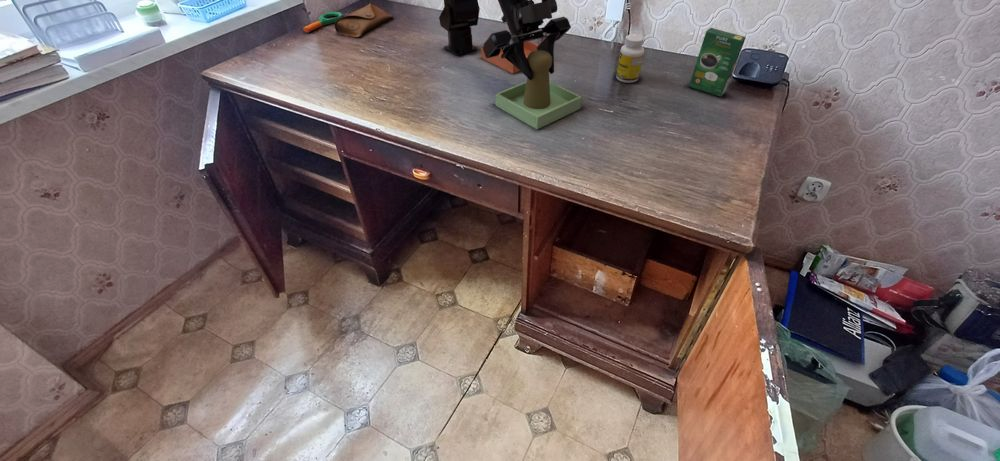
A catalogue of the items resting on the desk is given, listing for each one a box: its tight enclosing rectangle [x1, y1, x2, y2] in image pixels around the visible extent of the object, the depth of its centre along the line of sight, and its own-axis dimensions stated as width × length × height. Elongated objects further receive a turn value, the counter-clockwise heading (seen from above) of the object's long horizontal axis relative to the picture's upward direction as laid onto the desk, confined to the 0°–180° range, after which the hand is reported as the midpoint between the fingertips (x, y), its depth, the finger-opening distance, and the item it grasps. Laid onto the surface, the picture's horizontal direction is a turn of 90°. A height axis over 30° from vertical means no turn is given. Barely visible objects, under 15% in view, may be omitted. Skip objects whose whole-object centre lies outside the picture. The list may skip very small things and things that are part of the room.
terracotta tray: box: [480, 41, 539, 74], centre depth 120 cm, size 12×12×3 cm
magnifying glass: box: [302, 11, 343, 33], centre depth 138 cm, size 15×6×2 cm, turn 158°
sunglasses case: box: [334, 2, 394, 38], centre depth 137 cm, size 18×7×7 cm, turn 157°
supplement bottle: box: [615, 33, 645, 84], centre depth 109 cm, size 5×5×10 cm
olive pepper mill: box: [523, 50, 552, 109], centre depth 98 cm, size 6×6×11 cm
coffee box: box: [688, 27, 747, 98], centre depth 103 cm, size 8×3×13 cm, turn 50°
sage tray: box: [495, 80, 583, 130], centre depth 101 cm, size 13×13×3 cm
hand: (542, 76), depth 97 cm, fingers closed on olive pepper mill, 5 cm apart
